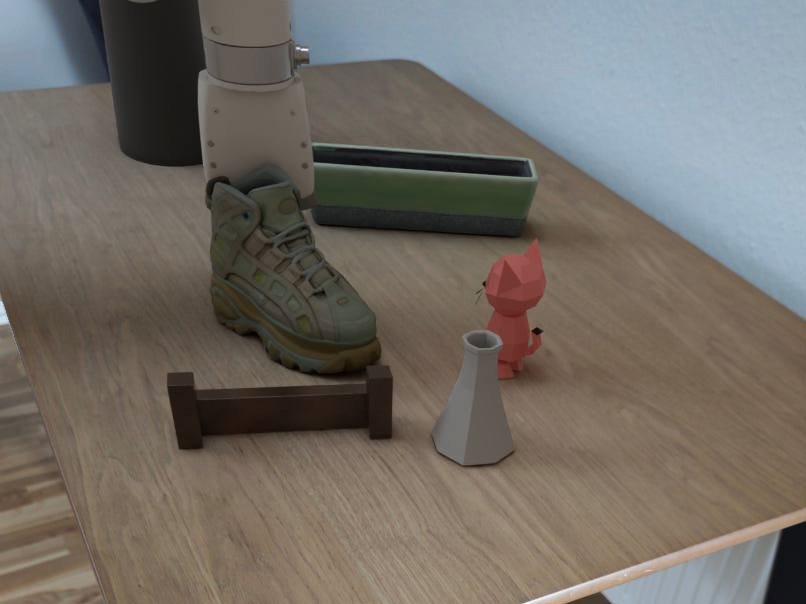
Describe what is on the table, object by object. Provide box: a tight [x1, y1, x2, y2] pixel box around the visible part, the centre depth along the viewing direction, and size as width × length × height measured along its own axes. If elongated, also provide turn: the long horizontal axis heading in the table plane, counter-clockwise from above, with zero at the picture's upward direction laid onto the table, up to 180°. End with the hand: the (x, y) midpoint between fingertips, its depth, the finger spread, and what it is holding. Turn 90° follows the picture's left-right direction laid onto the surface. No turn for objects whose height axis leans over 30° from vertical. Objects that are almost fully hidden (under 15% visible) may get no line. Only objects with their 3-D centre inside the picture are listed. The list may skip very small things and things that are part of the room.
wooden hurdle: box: [166, 364, 394, 450], centre depth 75 cm, size 18×3×6 cm, turn 102°
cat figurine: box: [474, 237, 547, 380], centre depth 83 cm, size 7×7×12 cm
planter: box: [310, 141, 539, 237], centre depth 107 cm, size 28×7×7 cm, turn 94°
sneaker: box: [204, 163, 382, 375], centre depth 83 cm, size 11×19×15 cm, turn 41°
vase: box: [98, 0, 206, 167], centre depth 108 cm, size 14×14×29 cm
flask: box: [430, 329, 516, 466], centre depth 75 cm, size 7×7×10 cm
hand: (268, 265), depth 91 cm, fingers closed
